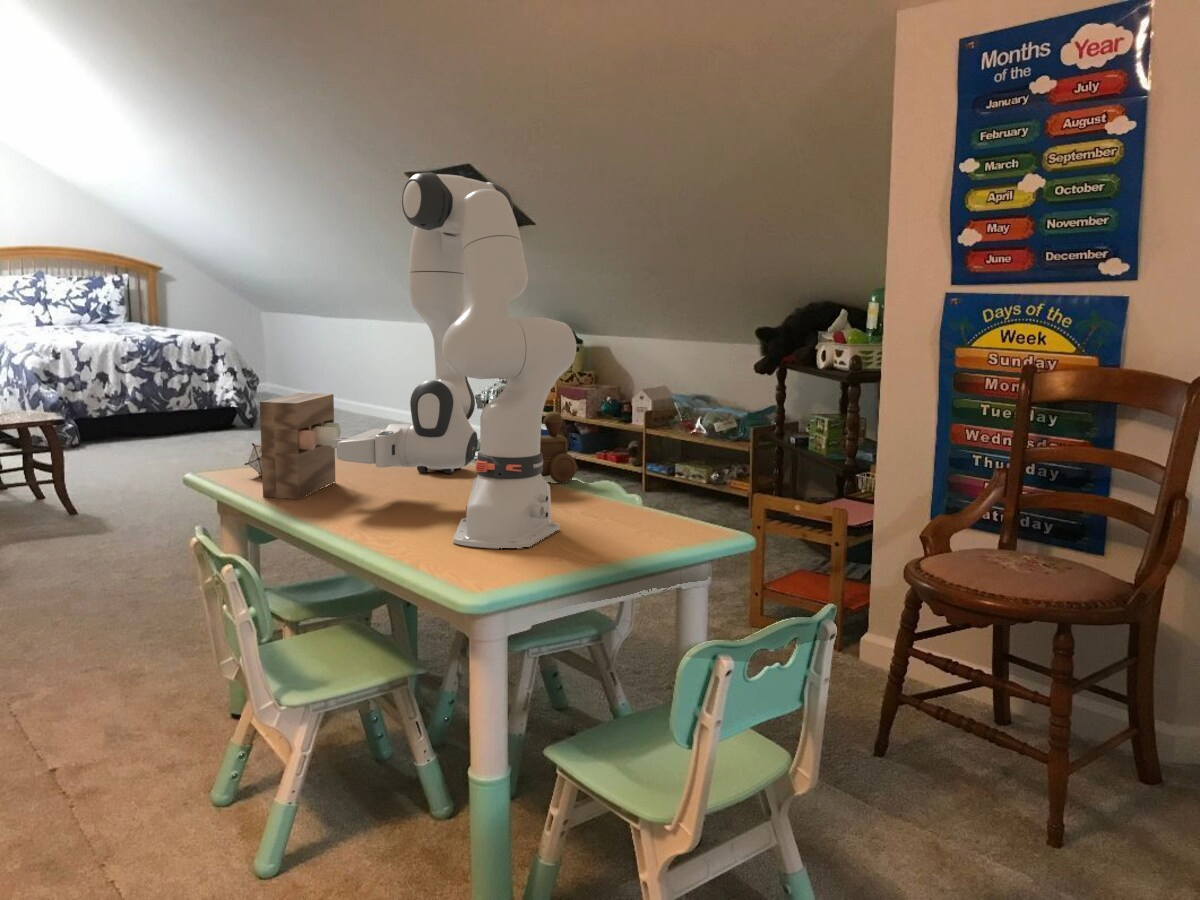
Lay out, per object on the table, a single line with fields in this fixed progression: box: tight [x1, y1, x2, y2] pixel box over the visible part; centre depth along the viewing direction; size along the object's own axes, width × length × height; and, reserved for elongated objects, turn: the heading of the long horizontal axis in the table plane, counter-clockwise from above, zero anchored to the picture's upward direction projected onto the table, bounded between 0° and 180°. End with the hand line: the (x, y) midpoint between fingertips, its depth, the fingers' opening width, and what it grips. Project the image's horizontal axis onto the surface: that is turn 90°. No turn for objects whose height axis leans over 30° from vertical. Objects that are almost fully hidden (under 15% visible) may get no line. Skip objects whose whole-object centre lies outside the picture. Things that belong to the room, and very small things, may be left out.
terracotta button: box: [298, 430, 317, 450], centre depth 204 cm, size 6×4×4 cm, turn 81°
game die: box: [243, 442, 262, 479], centre depth 226 cm, size 9×8×10 cm
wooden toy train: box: [540, 411, 579, 484], centre depth 226 cm, size 20×11×17 cm, turn 120°
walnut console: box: [259, 392, 336, 500], centre depth 211 cm, size 8×18×20 cm, turn 171°
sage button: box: [323, 422, 342, 437], centre depth 216 cm, size 6×4×4 cm, turn 81°
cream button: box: [311, 426, 338, 446], centre depth 210 cm, size 6×4×4 cm, turn 81°
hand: (333, 442), depth 203 cm, fingers closed
